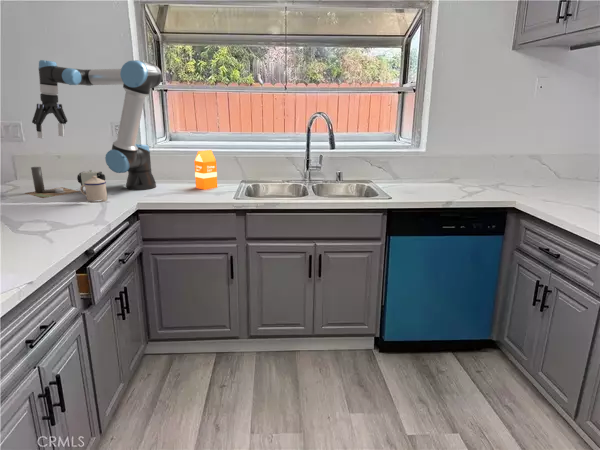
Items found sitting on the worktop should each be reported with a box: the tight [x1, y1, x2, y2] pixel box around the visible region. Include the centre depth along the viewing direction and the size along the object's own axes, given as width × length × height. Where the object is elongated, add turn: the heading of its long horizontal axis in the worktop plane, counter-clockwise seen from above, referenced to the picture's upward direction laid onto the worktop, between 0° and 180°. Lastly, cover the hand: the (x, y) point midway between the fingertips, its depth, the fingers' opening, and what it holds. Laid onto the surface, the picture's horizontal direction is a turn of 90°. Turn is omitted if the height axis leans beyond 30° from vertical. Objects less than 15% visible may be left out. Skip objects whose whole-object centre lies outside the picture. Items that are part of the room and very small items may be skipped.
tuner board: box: [24, 187, 81, 199], centre depth 202 cm, size 18×18×1 cm
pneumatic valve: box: [76, 169, 106, 187], centre depth 204 cm, size 6×12×12 cm, turn 94°
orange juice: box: [194, 149, 218, 191], centre depth 222 cm, size 8×9×20 cm
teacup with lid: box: [79, 176, 108, 204], centre depth 190 cm, size 12×9×12 cm
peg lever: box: [30, 166, 64, 193], centre depth 200 cm, size 13×4×12 cm, turn 96°
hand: (51, 137), depth 209 cm, fingers open, 13 cm apart
